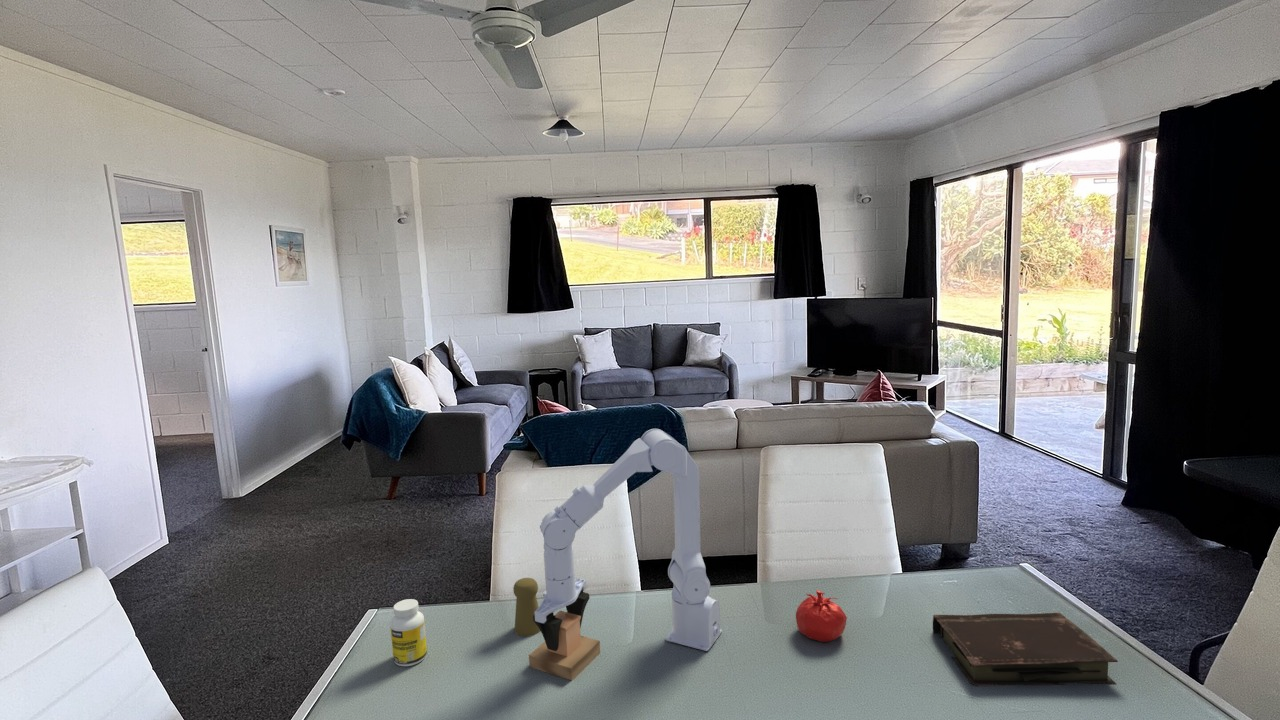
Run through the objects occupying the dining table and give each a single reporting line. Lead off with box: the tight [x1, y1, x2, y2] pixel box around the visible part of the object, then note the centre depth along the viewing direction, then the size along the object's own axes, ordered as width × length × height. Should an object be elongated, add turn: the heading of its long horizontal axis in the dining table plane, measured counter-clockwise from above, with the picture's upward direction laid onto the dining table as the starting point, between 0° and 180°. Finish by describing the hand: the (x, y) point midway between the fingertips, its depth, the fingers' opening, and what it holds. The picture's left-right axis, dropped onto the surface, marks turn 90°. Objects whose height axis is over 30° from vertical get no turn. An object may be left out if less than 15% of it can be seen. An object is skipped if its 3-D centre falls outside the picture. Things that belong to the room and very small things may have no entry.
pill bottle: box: [389, 598, 428, 667], centre depth 132 cm, size 6×6×12 cm
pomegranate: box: [795, 589, 848, 643], centre depth 134 cm, size 10×10×9 cm
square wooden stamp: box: [548, 610, 582, 657], centre depth 129 cm, size 5×5×6 cm
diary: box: [932, 612, 1119, 687], centre depth 124 cm, size 19×25×5 cm
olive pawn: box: [512, 577, 541, 637], centre depth 141 cm, size 6×6×11 cm
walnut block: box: [528, 635, 601, 681], centre depth 129 cm, size 10×10×2 cm
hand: (564, 638), depth 129 cm, fingers open, 7 cm apart
